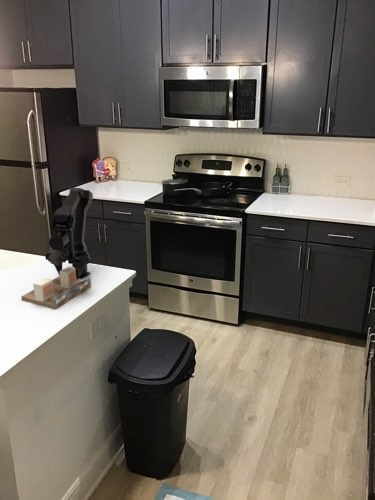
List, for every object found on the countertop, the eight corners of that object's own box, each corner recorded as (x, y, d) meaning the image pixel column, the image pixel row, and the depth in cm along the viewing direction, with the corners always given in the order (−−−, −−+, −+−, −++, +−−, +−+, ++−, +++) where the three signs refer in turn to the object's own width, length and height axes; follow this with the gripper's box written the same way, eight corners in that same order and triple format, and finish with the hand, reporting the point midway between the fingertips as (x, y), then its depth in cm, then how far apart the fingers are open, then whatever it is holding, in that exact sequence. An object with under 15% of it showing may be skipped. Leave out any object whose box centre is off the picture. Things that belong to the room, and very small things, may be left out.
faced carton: (35, 299, 168) (33, 283, 165) (46, 293, 173) (44, 277, 171) (43, 302, 166) (41, 285, 164) (54, 295, 171) (52, 279, 169)
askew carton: (61, 286, 179) (59, 271, 177) (70, 281, 184) (69, 266, 182) (69, 288, 178) (67, 273, 175) (78, 283, 183) (77, 267, 180)
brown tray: (59, 279, 190) (58, 270, 188) (91, 287, 183) (90, 278, 181) (21, 299, 171) (20, 290, 170) (55, 309, 164) (54, 299, 163)
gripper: (33, 244, 171) (37, 280, 177) (71, 251, 164) (74, 289, 169) (53, 236, 181) (56, 270, 186) (89, 243, 173) (92, 278, 179)
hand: (69, 277), depth 180 cm, fingers open, 9 cm apart
